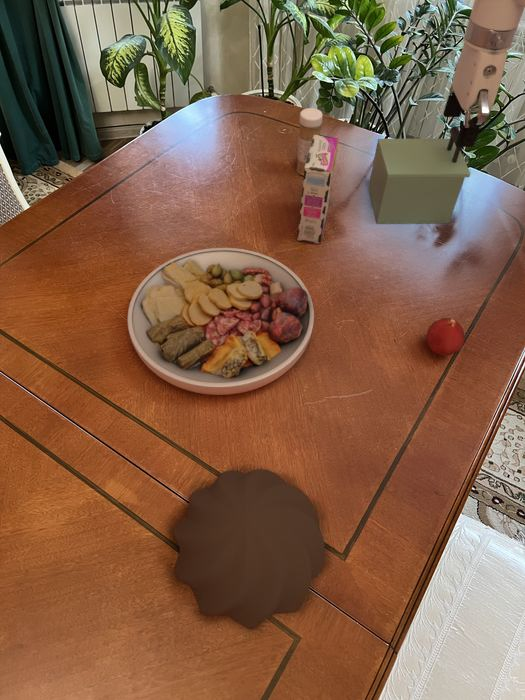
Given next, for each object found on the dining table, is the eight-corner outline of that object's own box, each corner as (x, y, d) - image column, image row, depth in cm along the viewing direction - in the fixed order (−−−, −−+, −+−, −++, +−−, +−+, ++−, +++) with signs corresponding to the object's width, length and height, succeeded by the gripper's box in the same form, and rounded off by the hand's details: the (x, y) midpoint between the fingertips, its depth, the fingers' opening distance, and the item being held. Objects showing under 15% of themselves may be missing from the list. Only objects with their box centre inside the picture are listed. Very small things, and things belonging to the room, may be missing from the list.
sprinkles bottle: (317, 166, 126) (324, 108, 115) (315, 178, 123) (321, 120, 112) (297, 163, 126) (301, 105, 116) (294, 175, 123) (298, 117, 113)
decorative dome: (166, 629, 68) (155, 607, 60) (180, 474, 80) (172, 439, 72) (328, 629, 68) (339, 607, 60) (318, 475, 80) (325, 440, 72)
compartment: (436, 188, 122) (450, 142, 113) (448, 223, 115) (465, 177, 106) (368, 188, 121) (377, 142, 113) (376, 224, 114) (387, 177, 106)
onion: (419, 336, 96) (431, 304, 90) (453, 338, 96) (467, 306, 90) (424, 364, 93) (436, 333, 86) (459, 365, 93) (475, 334, 86)
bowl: (134, 416, 86) (125, 386, 79) (130, 276, 104) (123, 243, 98) (329, 392, 89) (335, 362, 83) (293, 260, 107) (295, 227, 101)
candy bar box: (321, 245, 110) (331, 172, 97) (296, 241, 110) (302, 168, 97) (329, 209, 117) (340, 136, 104) (305, 205, 117) (312, 132, 104)
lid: (454, 142, 113) (462, 116, 109) (469, 177, 106) (478, 151, 102) (377, 142, 113) (382, 116, 108) (387, 177, 106) (392, 151, 101)
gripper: (530, 59, 86) (490, 158, 100) (497, 10, 97) (465, 106, 110) (481, 58, 86) (448, 158, 100) (453, 9, 97) (427, 105, 110)
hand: (457, 130), depth 105 cm, fingers open, 9 cm apart
